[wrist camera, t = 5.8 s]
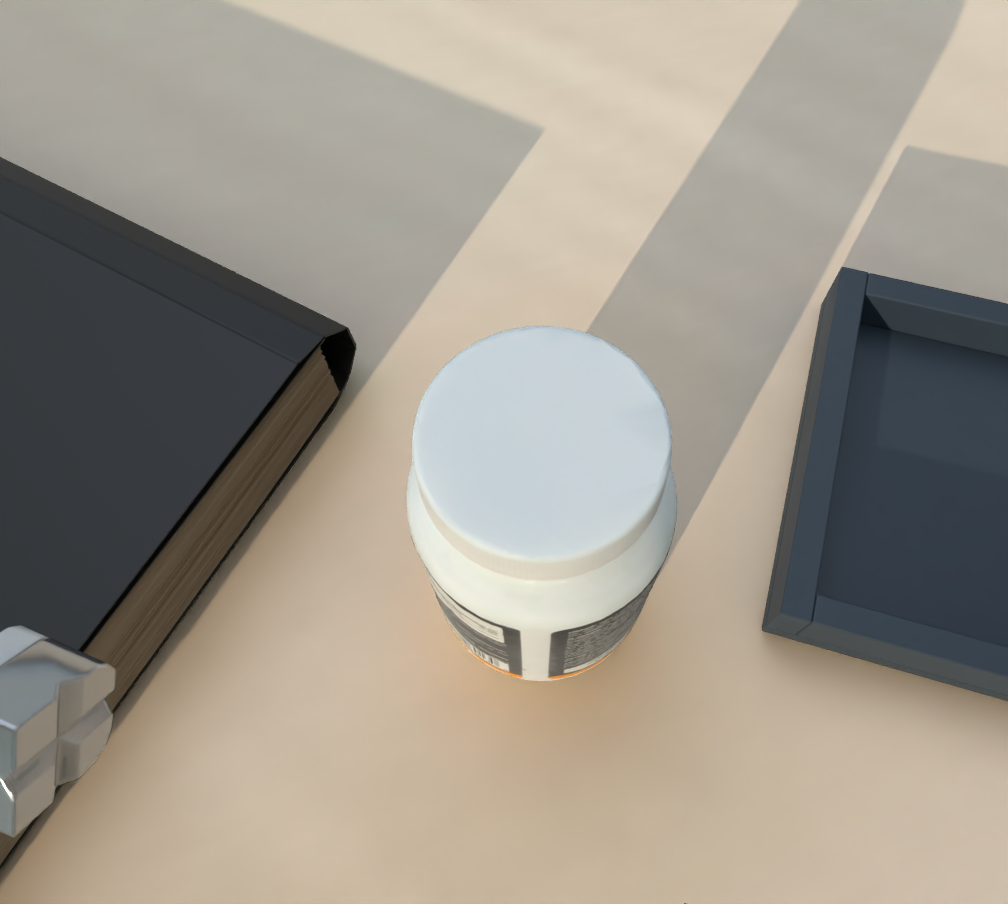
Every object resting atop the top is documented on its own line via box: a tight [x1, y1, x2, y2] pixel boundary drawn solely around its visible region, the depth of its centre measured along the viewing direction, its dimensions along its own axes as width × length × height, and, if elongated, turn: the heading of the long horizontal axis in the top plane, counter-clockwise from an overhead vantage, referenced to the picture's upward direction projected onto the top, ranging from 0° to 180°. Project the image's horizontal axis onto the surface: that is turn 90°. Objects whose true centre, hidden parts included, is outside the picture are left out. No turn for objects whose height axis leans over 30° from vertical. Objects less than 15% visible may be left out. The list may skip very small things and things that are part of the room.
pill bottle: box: [406, 326, 677, 681], centre depth 20 cm, size 6×6×10 cm
